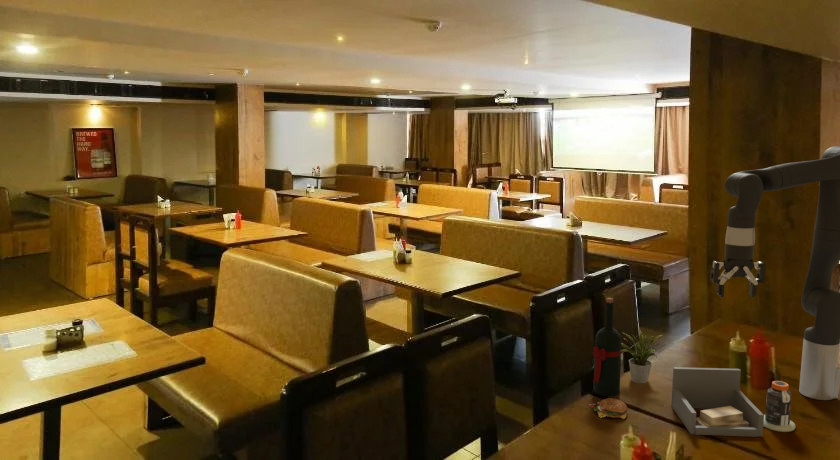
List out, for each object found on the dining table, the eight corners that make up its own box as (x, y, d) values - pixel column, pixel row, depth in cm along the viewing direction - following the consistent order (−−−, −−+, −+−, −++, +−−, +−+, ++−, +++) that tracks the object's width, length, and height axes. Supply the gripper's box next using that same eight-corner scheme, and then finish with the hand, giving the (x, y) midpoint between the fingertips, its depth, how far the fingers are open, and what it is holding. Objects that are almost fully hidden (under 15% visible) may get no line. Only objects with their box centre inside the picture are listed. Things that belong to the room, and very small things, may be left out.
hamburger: (626, 403, 187) (627, 384, 186) (635, 425, 173) (636, 405, 172) (578, 401, 189) (579, 382, 188) (583, 422, 175) (584, 402, 174)
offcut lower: (737, 423, 174) (737, 414, 173) (748, 431, 169) (749, 423, 168) (693, 426, 172) (693, 417, 172) (703, 435, 167) (703, 426, 167)
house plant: (645, 368, 212) (647, 322, 210) (674, 383, 199) (676, 335, 197) (610, 374, 208) (611, 327, 205) (636, 390, 195) (639, 340, 192)
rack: (736, 407, 182) (739, 368, 180) (762, 436, 165) (766, 394, 163) (671, 405, 184) (673, 367, 182) (690, 434, 166) (693, 392, 164)
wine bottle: (583, 392, 193) (586, 299, 189) (603, 384, 200) (606, 293, 195) (605, 401, 187) (608, 305, 183) (624, 391, 194) (628, 298, 189)
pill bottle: (793, 427, 168) (796, 388, 166) (769, 426, 169) (772, 386, 167) (784, 417, 174) (788, 379, 172) (761, 416, 175) (764, 378, 173)
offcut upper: (729, 414, 174) (730, 405, 173) (742, 421, 169) (743, 412, 169) (699, 419, 171) (700, 410, 171) (711, 426, 167) (712, 417, 166)
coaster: (785, 417, 175) (785, 415, 175) (801, 432, 167) (801, 430, 167) (752, 416, 176) (752, 414, 176) (766, 431, 168) (766, 429, 167)
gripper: (759, 240, 182) (755, 293, 185) (709, 239, 184) (706, 293, 186) (771, 244, 175) (767, 300, 177) (718, 244, 176) (715, 299, 179)
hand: (735, 296), depth 182 cm, fingers open, 8 cm apart
